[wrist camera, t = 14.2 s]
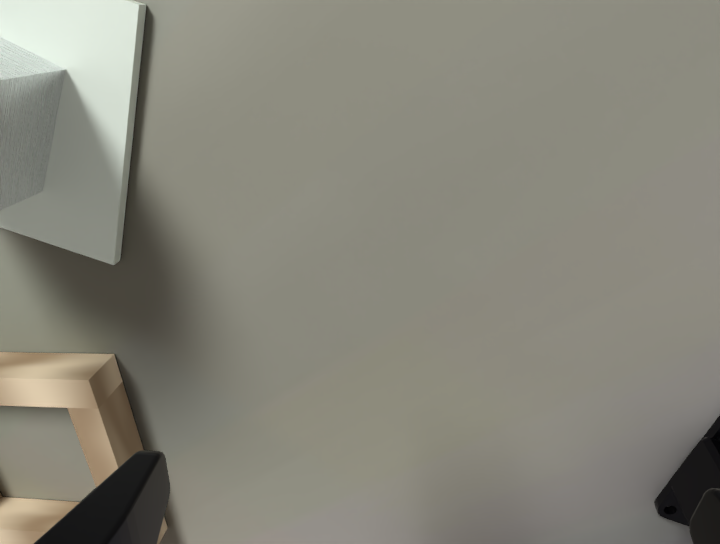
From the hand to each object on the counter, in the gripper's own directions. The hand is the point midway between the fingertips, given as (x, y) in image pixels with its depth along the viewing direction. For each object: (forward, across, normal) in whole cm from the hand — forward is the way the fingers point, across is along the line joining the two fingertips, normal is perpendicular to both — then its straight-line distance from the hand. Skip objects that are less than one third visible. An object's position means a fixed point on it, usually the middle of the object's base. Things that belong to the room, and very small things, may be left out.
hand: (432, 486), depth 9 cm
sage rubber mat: (+15, +15, -2) cm, 21 cm away
